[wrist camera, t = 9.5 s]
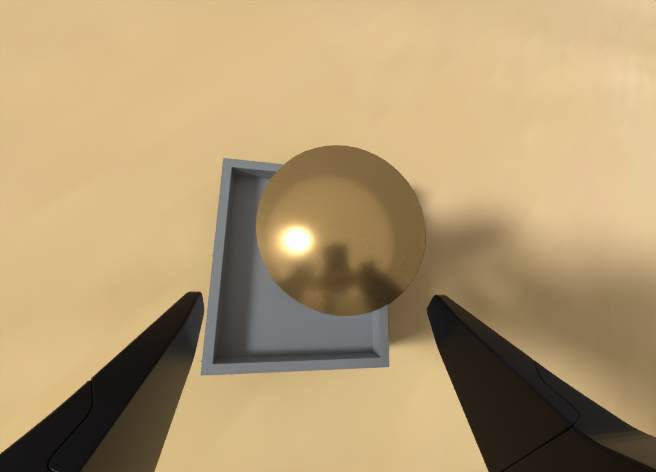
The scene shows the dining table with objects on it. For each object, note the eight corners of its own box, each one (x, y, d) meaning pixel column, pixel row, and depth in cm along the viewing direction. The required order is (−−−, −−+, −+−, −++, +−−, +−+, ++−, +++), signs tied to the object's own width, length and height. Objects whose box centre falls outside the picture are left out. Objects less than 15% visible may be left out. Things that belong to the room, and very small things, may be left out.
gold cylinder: (345, 276, 20) (454, 261, 7) (288, 309, 18) (311, 354, 6) (315, 221, 20) (374, 123, 8) (258, 250, 19) (223, 184, 7)
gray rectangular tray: (366, 350, 22) (389, 367, 17) (217, 355, 20) (200, 375, 15) (365, 194, 24) (384, 175, 20) (233, 182, 22) (223, 158, 18)
